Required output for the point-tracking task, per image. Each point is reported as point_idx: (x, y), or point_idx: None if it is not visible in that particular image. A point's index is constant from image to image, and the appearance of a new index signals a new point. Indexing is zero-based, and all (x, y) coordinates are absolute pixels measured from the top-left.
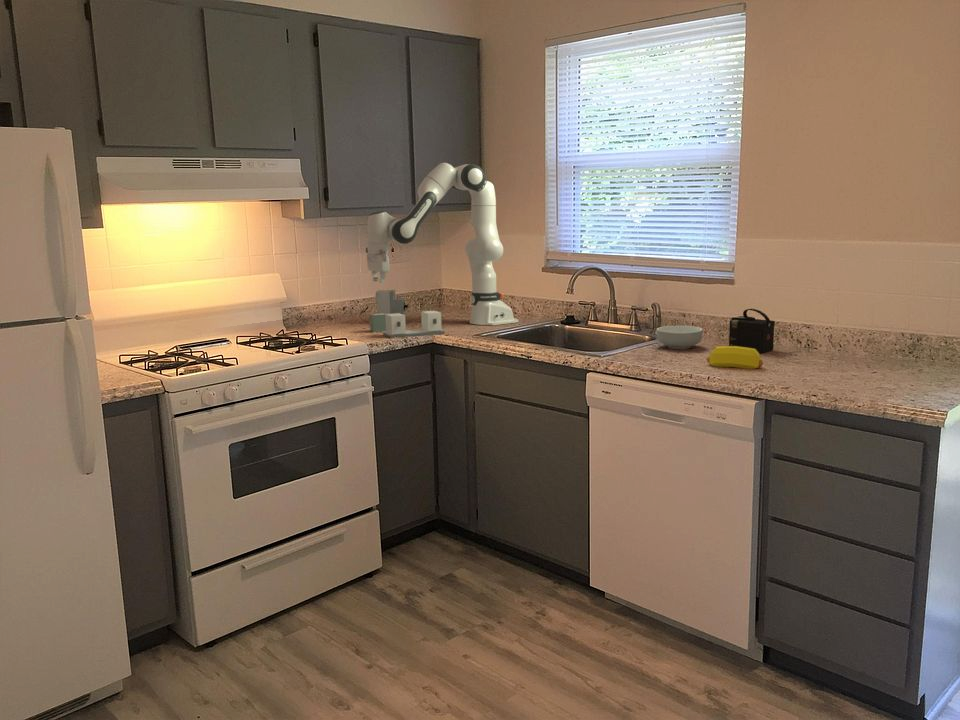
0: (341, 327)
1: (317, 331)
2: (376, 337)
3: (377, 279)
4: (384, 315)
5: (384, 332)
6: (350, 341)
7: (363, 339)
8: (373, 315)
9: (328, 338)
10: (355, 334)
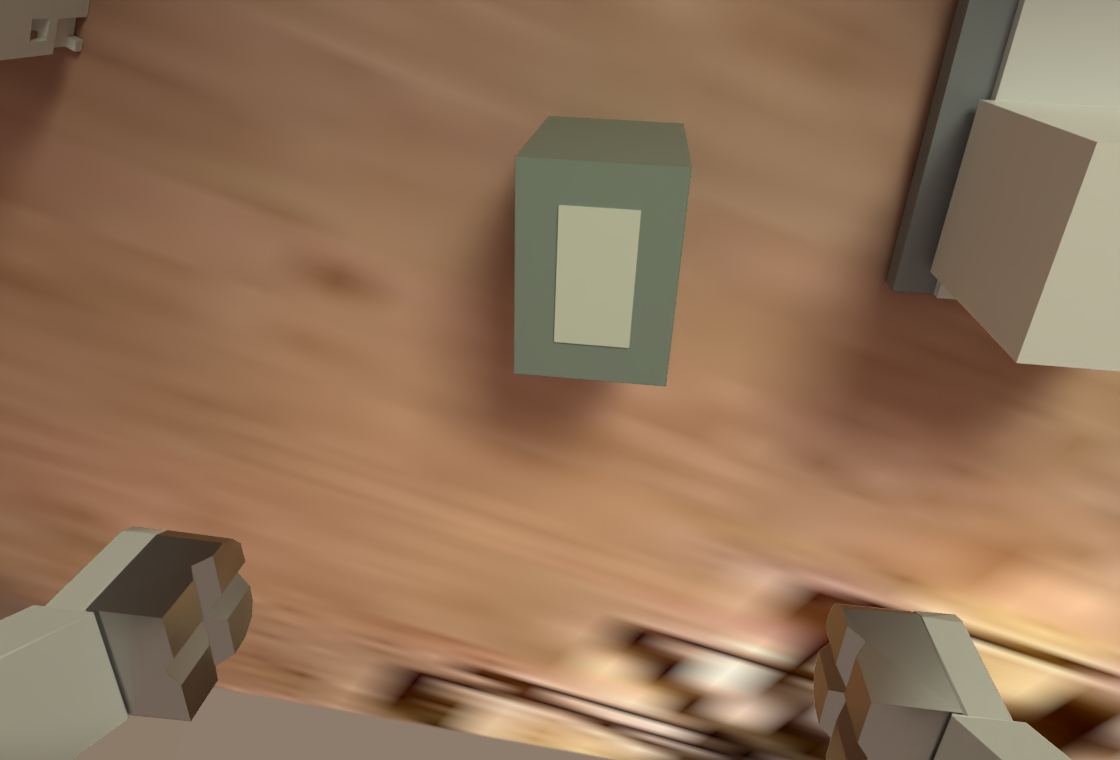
0: (188, 421)
1: (339, 619)
2: (975, 389)
3: (199, 571)
4: (683, 229)
5: (950, 298)
6: (994, 617)
7: (985, 514)
8: (665, 380)
9: (726, 671)
10: (663, 468)
